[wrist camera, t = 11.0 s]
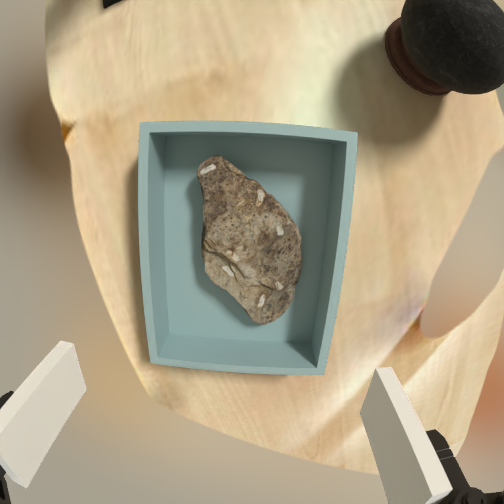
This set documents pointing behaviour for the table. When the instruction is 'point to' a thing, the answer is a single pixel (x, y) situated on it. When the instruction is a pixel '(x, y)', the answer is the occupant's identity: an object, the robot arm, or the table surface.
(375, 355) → the table surface
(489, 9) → the black globe on stand
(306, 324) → the storage tub
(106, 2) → the build plate
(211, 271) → the rock
